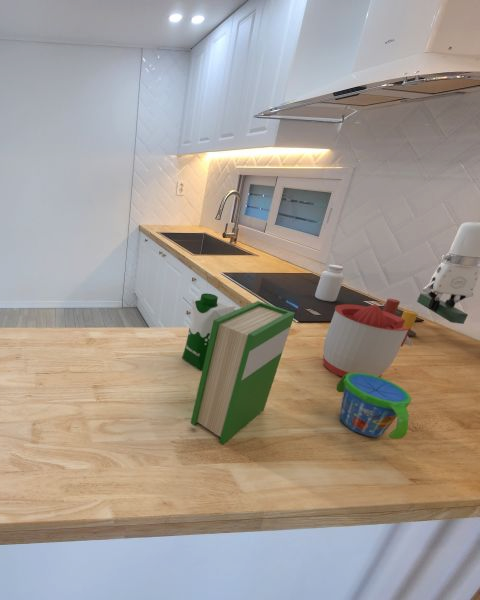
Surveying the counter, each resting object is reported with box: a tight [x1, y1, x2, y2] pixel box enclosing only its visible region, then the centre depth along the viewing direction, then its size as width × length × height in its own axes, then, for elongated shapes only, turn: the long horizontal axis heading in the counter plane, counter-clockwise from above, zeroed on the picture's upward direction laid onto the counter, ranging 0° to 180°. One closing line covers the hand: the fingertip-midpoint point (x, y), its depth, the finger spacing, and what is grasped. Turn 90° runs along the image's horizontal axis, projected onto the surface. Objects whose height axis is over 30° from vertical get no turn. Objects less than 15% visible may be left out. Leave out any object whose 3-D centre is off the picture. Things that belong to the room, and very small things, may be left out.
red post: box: [382, 298, 401, 315], centre depth 128 cm, size 7×7×8 cm
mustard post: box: [400, 309, 419, 338], centre depth 118 cm, size 7×7×8 cm
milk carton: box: [182, 292, 236, 372], centre depth 90 cm, size 9×9×20 cm
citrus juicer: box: [322, 303, 413, 378], centre depth 89 cm, size 16×17×20 cm
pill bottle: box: [314, 264, 345, 302], centre depth 146 cm, size 8×8×15 cm
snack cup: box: [335, 373, 412, 440], centre depth 71 cm, size 16×10×10 cm
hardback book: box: [190, 300, 296, 446], centre depth 69 cm, size 18×7×24 cm, turn 129°
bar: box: [416, 293, 469, 325], centre depth 118 cm, size 3×20×3 cm, turn 161°
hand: (439, 310), depth 118 cm, fingers closed on bar, 3 cm apart
